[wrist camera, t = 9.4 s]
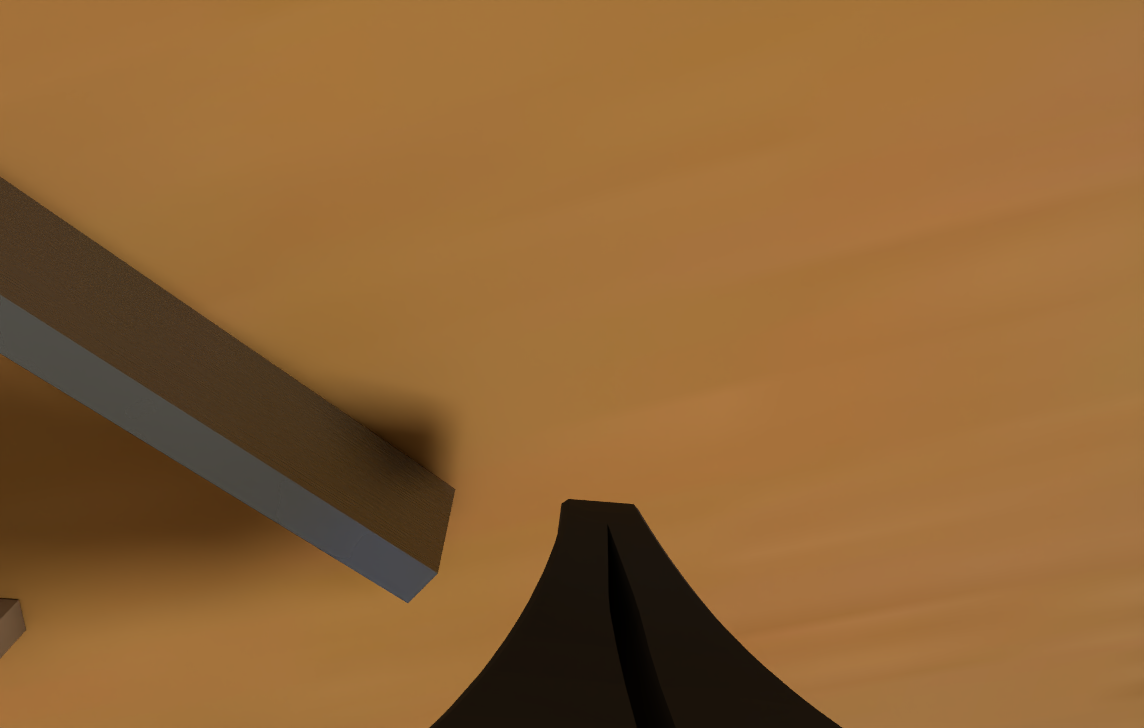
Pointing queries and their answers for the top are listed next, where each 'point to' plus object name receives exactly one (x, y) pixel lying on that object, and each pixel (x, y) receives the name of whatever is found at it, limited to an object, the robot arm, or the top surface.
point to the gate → (212, 401)
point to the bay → (10, 624)
